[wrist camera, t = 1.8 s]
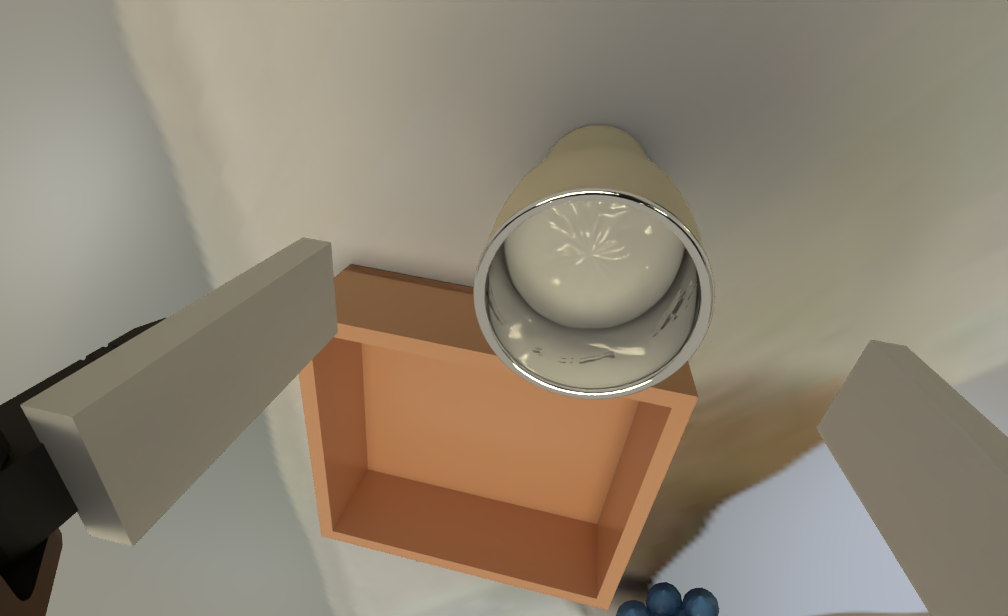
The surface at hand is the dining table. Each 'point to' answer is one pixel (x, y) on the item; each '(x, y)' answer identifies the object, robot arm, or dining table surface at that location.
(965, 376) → the dining table surface
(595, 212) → the beer glass
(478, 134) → the dining table surface
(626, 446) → the open box
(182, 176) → the dining table surface
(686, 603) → the grapes
